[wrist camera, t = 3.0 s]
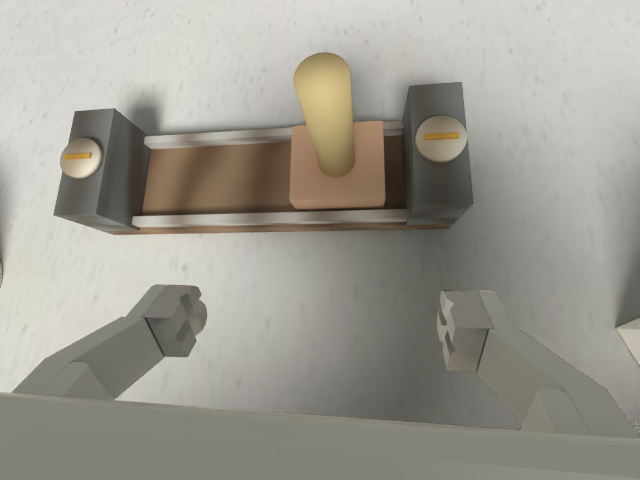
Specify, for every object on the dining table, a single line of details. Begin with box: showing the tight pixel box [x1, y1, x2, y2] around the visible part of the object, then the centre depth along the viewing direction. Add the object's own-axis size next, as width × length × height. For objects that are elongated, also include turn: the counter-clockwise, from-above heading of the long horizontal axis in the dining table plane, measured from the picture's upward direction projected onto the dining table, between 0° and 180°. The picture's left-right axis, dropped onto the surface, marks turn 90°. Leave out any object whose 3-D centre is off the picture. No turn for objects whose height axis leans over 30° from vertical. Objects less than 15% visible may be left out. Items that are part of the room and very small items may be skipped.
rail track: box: [54, 82, 473, 235], centre depth 30 cm, size 34×10×8 cm, turn 89°
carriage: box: [289, 53, 385, 211], centre depth 24 cm, size 8×7×13 cm
